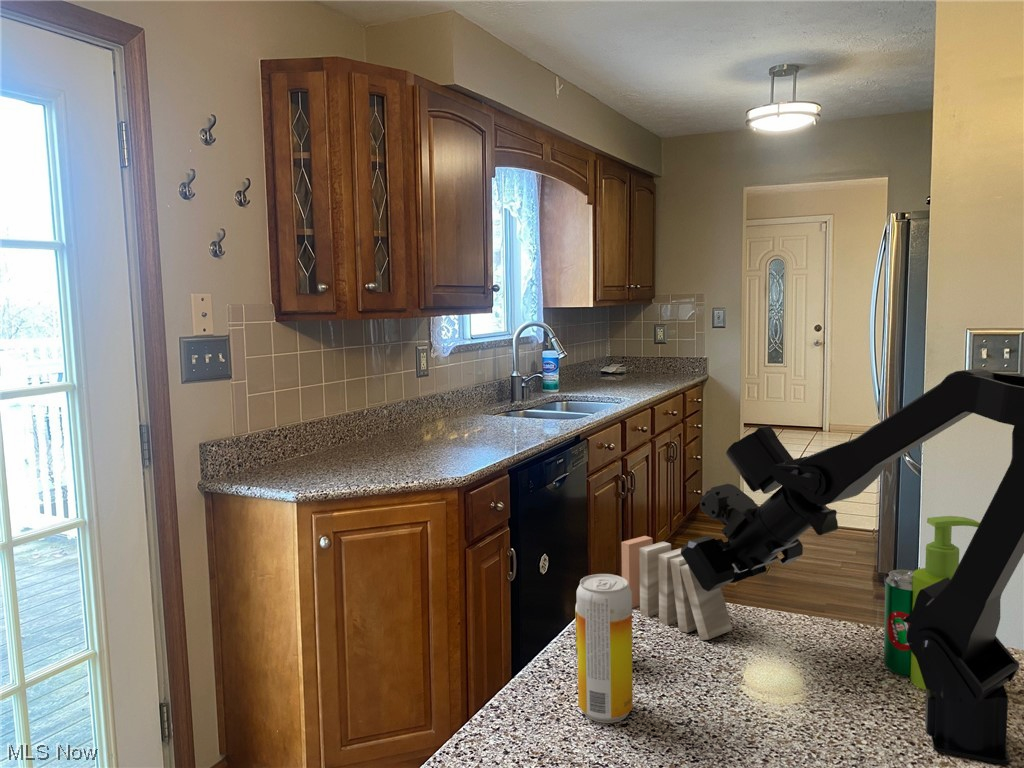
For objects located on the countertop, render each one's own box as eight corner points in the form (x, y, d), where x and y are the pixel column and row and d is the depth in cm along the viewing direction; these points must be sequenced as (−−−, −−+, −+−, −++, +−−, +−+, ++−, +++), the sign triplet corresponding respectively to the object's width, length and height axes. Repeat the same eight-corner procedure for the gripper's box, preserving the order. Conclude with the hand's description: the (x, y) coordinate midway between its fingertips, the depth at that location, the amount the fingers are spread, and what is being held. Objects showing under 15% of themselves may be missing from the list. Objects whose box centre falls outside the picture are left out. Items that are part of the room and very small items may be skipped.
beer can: (635, 700, 86) (634, 574, 85) (629, 728, 81) (628, 594, 79) (583, 694, 88) (581, 570, 87) (574, 721, 82) (571, 589, 81)
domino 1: (653, 601, 116) (652, 538, 115) (629, 609, 113) (628, 544, 112) (645, 598, 117) (645, 535, 116) (622, 605, 114) (621, 542, 113)
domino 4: (711, 623, 106) (702, 553, 107) (687, 632, 104) (678, 560, 104) (702, 621, 108) (694, 552, 108) (679, 630, 105) (670, 559, 105)
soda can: (910, 658, 95) (912, 566, 94) (939, 677, 90) (942, 580, 89) (874, 662, 94) (876, 570, 93) (902, 682, 89) (904, 584, 88)
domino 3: (690, 616, 110) (690, 550, 109) (667, 625, 107) (666, 557, 106) (682, 613, 111) (682, 547, 110) (658, 621, 108) (658, 554, 107)
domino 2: (671, 608, 113) (671, 543, 112) (647, 617, 110) (647, 550, 109) (663, 605, 114) (663, 541, 113) (640, 613, 111) (639, 548, 110)
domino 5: (732, 629, 103) (711, 557, 105) (708, 639, 100) (687, 565, 103) (724, 630, 105) (703, 558, 107) (700, 639, 102) (679, 566, 104)
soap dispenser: (987, 695, 85) (993, 525, 83) (925, 696, 86) (930, 526, 84) (959, 671, 91) (964, 511, 89) (901, 671, 92) (905, 511, 90)
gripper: (784, 459, 102) (719, 520, 113) (692, 479, 92) (629, 545, 102) (837, 528, 97) (763, 586, 107) (745, 558, 86) (673, 619, 96)
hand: (708, 582), depth 103 cm, fingers closed
